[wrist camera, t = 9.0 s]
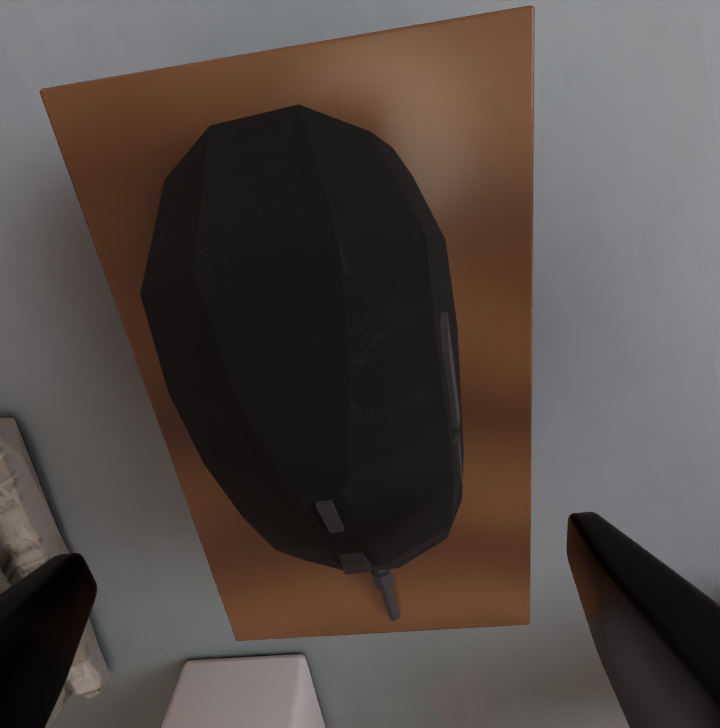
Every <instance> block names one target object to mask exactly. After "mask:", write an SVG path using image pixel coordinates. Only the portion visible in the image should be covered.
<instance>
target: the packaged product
mask: <svg viewBox="0 0 720 728" xmlns="http://www.w3.org/2000/svg"><path fill="white" fill-rule="evenodd" d="M68 553H69V551H68V549H67V547H66V545H65V543H64V541H63V539H62V537H61V535H60V533H59V531H58V529H57V526H56V524H55V521H54V519H53V516H52V513H51V511H50V508H49V506H48V503H47V501H46V498H45V496H44V493H43V490H42V488H41V485H40V483H39V480H38V478H37V475H36V472H35V470H34V467H33V465H32V462H31V460H30V457H29V455H28V452H27V449H26V447H25V444H24V442H23V439H22V437H21V434H20V431H19V429H18V426H17V424H16V421H15V419H14V418H0V594H1V593H2V592H4V591H5V590H7V589H8V588H9V587H11V586H12V585H14V584H15V583H17V582H18V581H19V580H21V579H22V578H24V577H25V576H27V575H28V574H29V573H31V572H32V571H34V570H35V569H37V568H38V567H39V566H41V565H42V564H44V563H45V562H47V561H48V560H49V559H51V558H52V557H54V556H56V555H59V554H68ZM109 674H110V673H109V671H108V668H107V666H106V663H105V661H104V658H103V656H102V653H101V651H100V648H99V646H98V643H97V640H96V637H95V633H94V630H93V627H92V623H91V620H90V617H89V618H88V621H87V624H86V627H85V629H84V632H83V635H82V638H81V641H80V644H79V647H78V649H77V652H76V655H75V658H74V661H73V664H72V666H71V669H70V672H69V674H68V677H67V680H66V682H65V684H64V687H63V689H62V692H61V694H60V696H59V698H58V701H57V703H56V705H55V707H54V709H53V712H52V714H51V716H50V718H49V720H48V723H47V725H46V727H45V728H50V723H51V722H52V721H53V720H54V719H55V718H56V716H57V715H58V714H59V713H60V712H61V710H62V709H63V707H64V705H65V704H66V702H67V700H68V698H69V697H70V696H71V695H79V696H85V697H86V698H87V699H90V698H92V697H94V696H96V695H98V694H100V692H101V690H102V688H103V686H104V684H105V682H106V680H107V678H108V676H109Z"/></svg>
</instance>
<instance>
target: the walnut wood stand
mask: <svg viewBox="0 0 720 728" xmlns="http://www.w3.org/2000/svg"><path fill="white" fill-rule="evenodd" d="M40 94H41V97H42V100H43V103H44V106H45V108H46V111H47V114H48V117H49V120H50V122H51V125H52V128H53V131H54V134H55V136H56V139H57V142H58V145H59V147H60V150H61V153H62V156H63V159H64V161H65V164H66V167H67V170H68V173H69V175H70V178H71V181H72V184H73V186H74V189H75V192H76V195H77V198H78V200H79V203H80V206H81V209H82V212H83V214H84V217H85V220H86V223H87V226H88V228H89V231H90V234H91V237H92V239H93V242H94V245H95V248H96V251H97V253H98V256H99V259H100V262H101V265H102V267H103V270H104V273H105V276H106V279H107V281H108V284H109V287H110V290H111V292H112V295H113V298H114V301H115V304H116V306H117V309H118V312H119V315H120V318H121V320H122V323H123V326H124V329H125V331H126V334H127V337H128V340H129V343H130V345H131V348H132V351H133V354H134V357H135V359H136V362H137V365H138V368H139V371H140V373H141V376H142V379H143V382H144V384H145V387H146V390H147V393H148V396H149V398H150V401H151V404H152V407H153V410H154V412H155V415H156V418H157V421H158V424H159V426H160V429H161V432H162V435H163V437H164V440H165V443H166V446H167V449H168V451H169V454H170V457H171V460H172V463H173V465H174V468H175V471H176V474H177V476H178V479H179V482H180V485H181V488H182V490H183V493H184V496H185V499H186V502H187V504H188V507H189V510H190V513H191V516H192V518H193V521H194V524H195V527H196V529H197V532H198V535H199V538H200V541H201V543H202V546H203V549H204V552H205V555H206V557H207V560H208V563H209V566H210V569H211V571H212V574H213V577H214V580H215V582H216V585H217V588H218V591H219V594H220V596H221V599H222V602H223V605H224V608H225V610H226V613H227V616H228V619H229V621H230V624H231V627H232V630H233V633H234V635H235V638H236V640H237V641H247V640H265V639H282V638H300V637H317V636H335V635H353V634H370V633H388V632H405V631H423V630H440V629H458V628H475V627H493V626H510V625H528V624H530V538H531V403H532V269H533V135H534V7H533V6H531V5H530V6H524V7H519V8H513V9H507V10H501V11H495V12H489V13H483V14H478V15H472V16H466V17H460V18H454V19H448V20H442V21H437V22H431V23H425V24H419V25H413V26H407V27H401V28H396V29H390V30H384V31H378V32H372V33H366V34H360V35H355V36H349V37H343V38H337V39H331V40H325V41H319V42H314V43H308V44H302V45H296V46H290V47H284V48H278V49H273V50H267V51H261V52H255V53H249V54H243V55H238V56H232V57H226V58H220V59H214V60H208V61H202V62H197V63H191V64H185V65H179V66H173V67H167V68H161V69H156V70H150V71H144V72H138V73H132V74H126V75H120V76H115V77H109V78H103V79H97V80H91V81H85V82H79V83H74V84H68V85H62V86H56V87H50V88H44V89H41V90H40ZM297 104H300V105H302V106H305V107H308V108H310V109H313V110H316V111H318V112H321V113H323V114H326V115H329V116H331V117H334V118H337V119H339V120H342V121H345V122H347V123H350V124H352V125H355V126H358V127H360V128H363V129H366V130H368V131H371V132H372V133H373V134H375V135H376V136H378V137H379V138H380V139H382V140H383V141H385V142H386V143H387V144H389V145H390V146H391V147H393V149H394V150H395V151H396V153H397V154H398V156H399V157H400V159H401V160H402V161H403V163H404V164H405V166H406V167H407V168H408V170H409V171H410V173H411V174H412V176H413V177H414V179H415V181H416V183H417V185H418V187H419V189H420V191H421V193H422V195H423V197H424V199H425V201H426V202H427V204H428V206H429V208H430V210H431V212H432V214H433V216H434V218H435V220H436V222H437V224H438V226H439V228H440V230H441V232H442V234H443V235H444V237H445V239H446V247H447V254H448V261H449V269H450V276H451V283H452V290H453V298H454V305H455V312H456V320H457V328H458V347H459V366H460V385H461V405H462V424H463V444H464V462H463V491H462V501H461V504H460V507H459V509H458V512H457V514H456V517H455V520H454V522H453V525H452V527H451V530H450V532H449V535H448V537H447V539H446V540H444V541H442V542H441V543H439V544H437V545H436V546H434V547H432V548H431V549H429V550H428V551H426V552H424V553H423V554H421V555H419V556H418V557H416V558H414V559H413V560H411V561H409V562H408V563H406V564H404V565H403V566H401V567H399V568H394V569H392V572H393V576H394V579H395V580H394V583H393V585H392V587H393V590H394V594H395V597H396V601H397V604H398V608H399V611H400V614H401V615H400V618H399V619H398V620H396V621H392V620H390V618H389V616H388V613H387V609H386V606H385V603H384V600H383V597H382V593H381V590H380V589H377V588H376V586H375V584H374V581H373V578H372V575H371V572H365V573H357V574H349V575H345V573H344V571H343V570H339V569H335V568H332V567H328V566H324V565H320V564H317V563H313V562H309V561H305V560H302V559H298V558H295V557H292V556H290V555H287V554H285V553H282V552H279V551H277V550H275V549H274V548H273V547H272V546H271V545H270V544H269V543H268V542H267V541H266V540H265V539H264V538H263V537H262V536H261V535H260V534H259V533H258V532H257V531H256V530H255V529H254V528H253V527H252V526H251V525H250V524H249V523H248V522H247V521H246V520H245V519H244V518H243V517H242V516H241V515H240V513H239V512H238V510H237V509H236V508H235V506H234V505H233V503H232V502H231V501H230V499H229V498H228V497H227V495H226V494H225V492H224V491H223V490H222V488H221V487H220V486H219V484H218V483H217V481H216V480H215V479H214V477H213V476H212V474H211V473H210V472H209V470H208V469H207V468H206V466H205V465H204V463H203V462H202V459H201V457H200V455H199V453H198V451H197V449H196V447H195V445H194V443H193V441H192V439H191V437H190V435H189V433H188V431H187V429H186V427H185V425H184V423H183V421H182V419H181V417H180V415H179V413H178V411H177V409H176V407H175V405H174V403H173V401H172V399H171V397H170V395H169V393H168V390H167V387H166V383H165V380H164V376H163V373H162V369H161V366H160V362H159V359H158V355H157V352H156V348H155V345H154V341H153V338H152V334H151V331H150V327H149V324H148V320H147V317H146V313H145V310H144V306H143V303H142V299H141V296H140V293H141V288H142V283H143V279H144V274H145V269H146V264H147V260H148V255H149V250H150V246H151V241H152V236H153V231H154V227H155V222H156V217H157V213H158V208H159V203H160V198H161V194H162V189H163V184H164V180H165V179H166V177H167V176H168V175H169V174H170V173H171V171H172V170H173V169H174V168H175V167H176V165H177V164H178V163H179V162H180V160H181V159H182V158H183V157H184V156H185V154H186V153H187V152H188V151H189V150H190V148H191V147H192V146H193V145H194V144H195V142H196V141H197V140H198V139H199V138H200V136H201V135H202V134H203V133H204V132H205V130H206V129H207V128H208V127H209V126H210V125H214V124H218V123H222V122H226V121H231V120H235V119H239V118H243V117H247V116H252V115H256V114H260V113H264V112H268V111H272V110H277V109H281V108H285V107H289V106H293V105H297Z"/></svg>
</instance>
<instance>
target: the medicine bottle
mask: <svg viewBox="0 0 720 728" xmlns="http://www.w3.org/2000/svg"><path fill="white" fill-rule="evenodd" d="M161 728H325V724H324V721H323V717H322V714H321V710H320V707H319V703H318V700H317V696H316V693H315V689H314V685H313V682H312V678H311V675H310V671H309V668H308V664H307V661H306V658H305V656H304V655H302V654H291V655H273V656H256V657H238V658H220V659H202V660H190V661H187V662H186V663H185V665H184V667H183V670H182V672H181V675H180V678H179V680H178V683H177V686H176V689H175V691H174V694H173V697H172V699H171V702H170V705H169V707H168V710H167V713H166V716H165V718H164V721H163V724H162V726H161Z"/></svg>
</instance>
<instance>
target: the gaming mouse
mask: <svg viewBox="0 0 720 728" xmlns="http://www.w3.org/2000/svg"><path fill="white" fill-rule="evenodd" d="M140 296H141V299H142V303H143V306H144V310H145V313H146V317H147V320H148V324H149V327H150V331H151V334H152V338H153V341H154V345H155V348H156V352H157V355H158V359H159V362H160V366H161V369H162V373H163V376H164V380H165V383H166V387H167V390H168V393H169V395H170V397H171V399H172V401H173V403H174V405H175V407H176V409H177V411H178V413H179V415H180V417H181V419H182V421H183V423H184V425H185V427H186V429H187V431H188V433H189V435H190V437H191V439H192V441H193V443H194V445H195V447H196V449H197V451H198V453H199V455H200V457H201V459H202V462H203V463H204V465H205V466H206V468H207V469H208V470H209V472H210V473H211V474H212V476H213V477H214V479H215V480H216V481H217V483H218V484H219V486H220V487H221V488H222V490H223V491H224V492H225V494H226V495H227V497H228V498H229V499H230V501H231V502H232V503H233V505H234V506H235V508H236V509H237V510H238V512H239V513H240V515H241V516H242V517H243V518H244V519H245V520H246V521H247V522H248V523H249V524H250V525H251V526H252V527H253V528H254V529H255V530H256V531H257V532H258V533H259V534H260V535H261V536H262V537H263V538H264V539H265V540H266V541H267V542H268V543H269V544H270V545H271V546H272V547H273V548H274V549H275V550H277V551H279V552H282V553H285V554H287V555H290V556H292V557H295V558H298V559H302V560H305V561H309V562H313V563H317V564H320V565H324V566H328V567H332V568H335V569H339V570H343V571H344V573H345V575H349V574H357V573H365V572H371V575H372V578H373V581H374V584H375V586H376V588H377V589H380V590H381V593H382V597H383V600H384V603H385V606H386V609H387V613H388V616H389V618H390V620H392V621H396V620H398V619H399V618H400V615H401V614H400V611H399V608H398V604H397V601H396V597H395V594H394V590H393V587H392V585H393V583H394V580H395V579H394V576H393V572H392V569H394V568H399V567H401V566H403V565H404V564H406V563H408V562H409V561H411V560H413V559H414V558H416V557H418V556H419V555H421V554H423V553H424V552H426V551H428V550H429V549H431V548H432V547H434V546H436V545H437V544H439V543H441V542H442V541H444V540H446V539H447V537H448V535H449V532H450V530H451V527H452V525H453V522H454V520H455V517H456V514H457V512H458V509H459V507H460V504H461V501H462V491H463V462H464V444H463V424H462V405H461V385H460V366H459V347H458V328H457V320H456V312H455V305H454V298H453V290H452V283H451V276H450V269H449V261H448V254H447V247H446V239H445V237H444V235H443V234H442V232H441V230H440V228H439V226H438V224H437V222H436V220H435V218H434V216H433V214H432V212H431V210H430V208H429V206H428V204H427V202H426V201H425V199H424V197H423V195H422V193H421V191H420V189H419V187H418V185H417V183H416V181H415V179H414V177H413V176H412V174H411V173H410V171H409V170H408V168H407V167H406V166H405V164H404V163H403V161H402V160H401V159H400V157H399V156H398V154H397V153H396V151H395V150H394V149H393V147H391V146H390V145H389V144H387V143H386V142H385V141H383V140H382V139H380V138H379V137H378V136H376V135H375V134H373V133H372V132H371V131H368V130H366V129H363V128H360V127H358V126H355V125H352V124H350V123H347V122H345V121H342V120H339V119H337V118H334V117H331V116H329V115H326V114H323V113H321V112H318V111H316V110H313V109H310V108H308V107H305V106H302V105H300V104H297V105H293V106H289V107H285V108H281V109H277V110H272V111H268V112H264V113H260V114H256V115H252V116H247V117H243V118H239V119H235V120H231V121H226V122H222V123H218V124H214V125H210V126H209V127H208V128H207V129H206V130H205V132H204V133H203V134H202V135H201V136H200V138H199V139H198V140H197V141H196V142H195V144H194V145H193V146H192V147H191V148H190V150H189V151H188V152H187V153H186V154H185V156H184V157H183V158H182V159H181V160H180V162H179V163H178V164H177V165H176V167H175V168H174V169H173V170H172V171H171V173H170V174H169V175H168V176H167V177H166V179H165V180H164V184H163V189H162V194H161V198H160V203H159V208H158V213H157V217H156V222H155V227H154V231H153V236H152V241H151V246H150V250H149V255H148V260H147V264H146V269H145V274H144V279H143V283H142V288H141V293H140Z"/></svg>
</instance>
